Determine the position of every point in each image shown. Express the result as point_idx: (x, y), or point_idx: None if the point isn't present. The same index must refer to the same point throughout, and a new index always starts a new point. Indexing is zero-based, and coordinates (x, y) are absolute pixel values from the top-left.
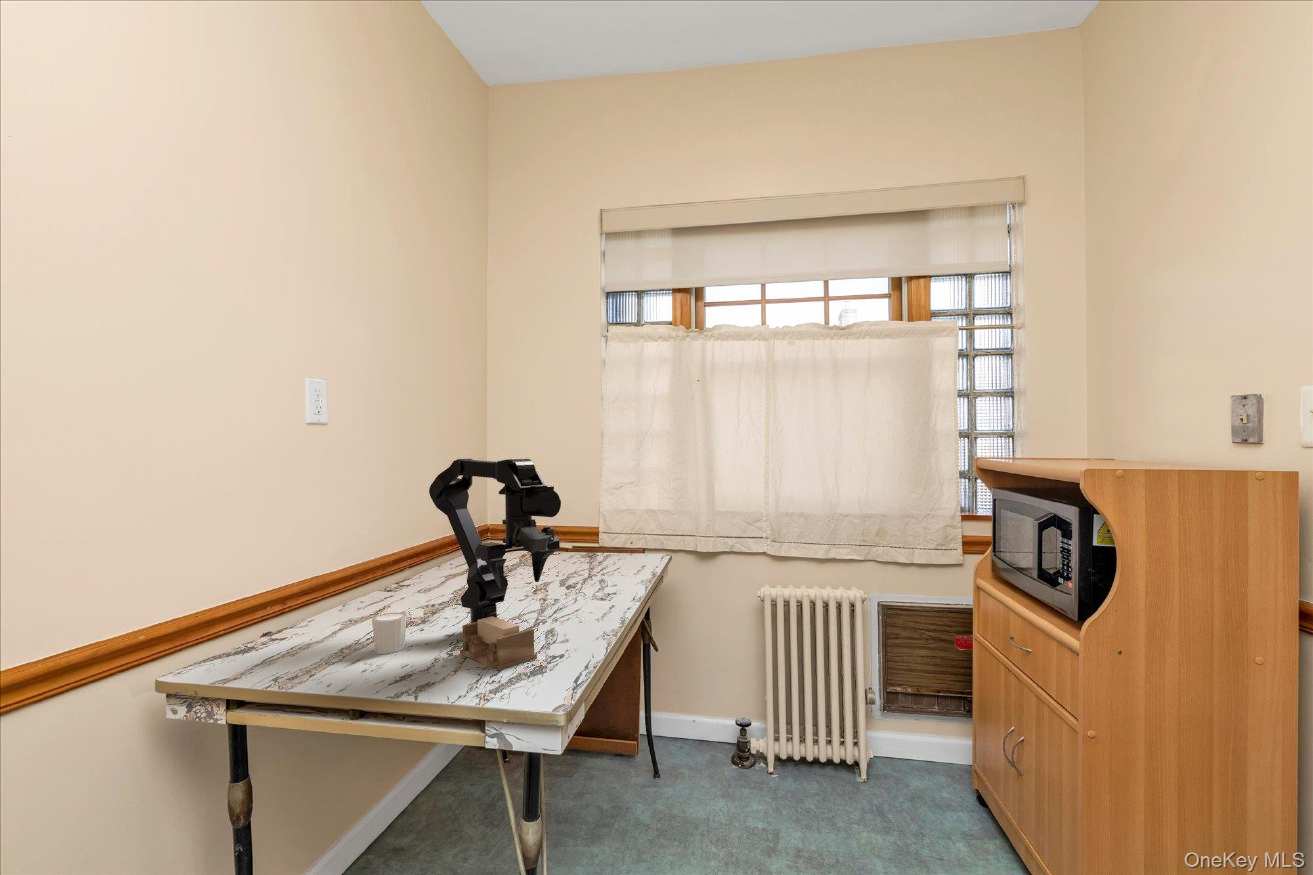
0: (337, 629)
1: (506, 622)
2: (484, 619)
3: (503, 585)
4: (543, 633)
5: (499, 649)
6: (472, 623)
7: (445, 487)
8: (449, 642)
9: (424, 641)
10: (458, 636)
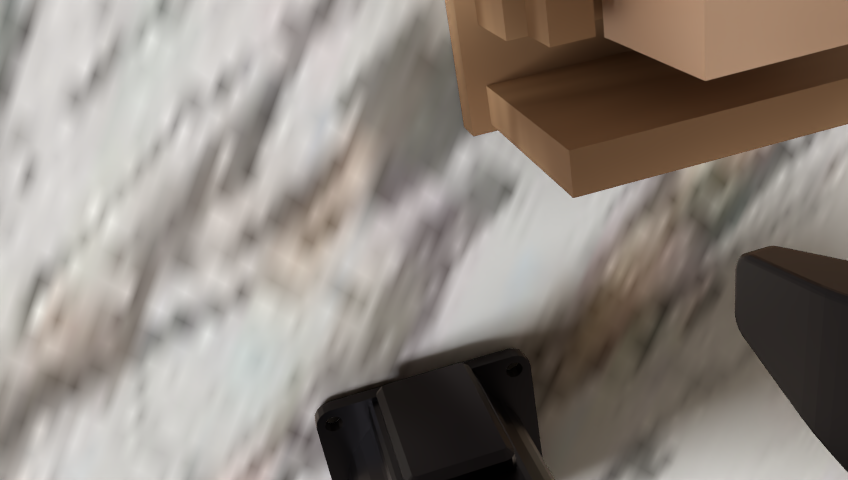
0: None
1: None
2: (825, 5)
3: (790, 272)
4: (11, 158)
5: None
6: (842, 106)
7: None
8: (702, 329)
9: (788, 417)
10: (608, 418)
